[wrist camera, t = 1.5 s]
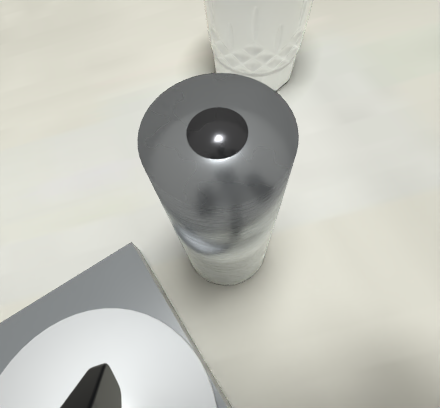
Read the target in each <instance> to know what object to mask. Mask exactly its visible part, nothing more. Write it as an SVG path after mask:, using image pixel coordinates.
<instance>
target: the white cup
mask: <svg viewBox="0 0 440 408" xmlns="http://www.w3.org/2000/svg"><path fill="white" fill-rule="evenodd" d="M312 3H313V0H204V5H205V12H206V20H207V28H208V32H209V38H210V45H211V47H212V50H213V55H214V63H215V69H216V73H231V74H238V75H243V76H246V77H250V78H253V79H255V80H258V81H260V82H262V83H264V84H265V85H267V86H269V87H270V88H272V89H273V90H274V91H276V90H278V89H279V88H280V87H281V86H282V85H284V84H285V83H286V82H287V81H288V80H289V78H290V75H291V72H292V69H293V66H294V63H295V59H296V55H297V52H298V50H299V48H300V46H301V42H302V38H303V35H304V32H305V29H306V26H307V22H308V18H309V15H310V11H311V7H312Z"/></svg>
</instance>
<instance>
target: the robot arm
mask: <svg viewBox="0 0 440 408" xmlns="http://www.w3.org/2000/svg"><path fill="white" fill-rule="evenodd" d="M60 408H122V399H121V390H120V386H119V384H118V382H117V380H116V378H115V376H114V374H113V372H112V370H111V368H110V366H109V365H108V364H107V363H103V364H100V365H97V366H94V367H91V368H90V369H88V371H87V372H86V373H85V375H84V376H83V377H82V379H81V380H80V381H79V383H78V384H77V385H76V387H75V388H74V389H73V391H72V392H71V393H70V395H69V396H68V398H67V399H66V400H65V402H64V403H63V404H62V406H61V407H60Z"/></svg>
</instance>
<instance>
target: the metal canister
mask: <svg viewBox="0 0 440 408" xmlns="http://www.w3.org/2000/svg"><path fill="white" fill-rule="evenodd" d="M298 137H299V135H298V126H297V123H296V119H295V117H294V115H293V112H292V110H291V109H290V107H289V106H288V104H287V103H286V101H285V100H284V99H283V98H282V97H281V96H280V95H279V94H278V93H277V92H276V91H274V90H273V89H272V88H270V87H269V86H267V85H265V84H264V83H262V82H260V81H258V80H255V79H253V78H250V77H246V76H243V75H238V74H231V73H211V74H203V75H199V76H195V77H192V78H189V79H186V80H183V81H181V82H179V83H177V84H175V85H173V86H172V87H170V88H168V89H167V90H166V91H165V92H163V93H162V94H161V95H160V96H159V97H158V98H157V99H156V100H155V101H154V102H153V103H152V104H151V105H150V107H149V108H148V110H147V111H146V113H145V115H144V117H143V119H142V121H141V124H140V128H139V132H138V151H139V156H140V159H141V162H142V165H143V167H144V169H145V171H146V173H147V175H148V177H149V179H150V181H151V183H152V185H153V187H154V189H155V191H156V193H157V195H158V197H159V199H160V201H161V203H162V205H163V207H164V209H165V211H166V213H167V215H168V217H169V219H170V221H171V223H172V225H173V227H174V229H175V231H176V233H177V235H178V237H179V239H180V241H181V243H182V245H183V247H184V249H185V251H186V253H187V255H188V257H189V259H190V261H191V263H192V265H193V267H194V269H195V270H196V271H197V272H198V273H199V274H200V275H201V276H202V277H203V278H205V279H206V280H208V281H210V282H212V283H215V284H219V285H234V284H238V283H241V282H243V281H245V280H247V279H249V278H250V277H251V276H253V275H254V274H255V273H256V272H257V271H258V269H259V268H260V266H261V264H262V262H263V260H264V257H265V254H266V250H267V247H268V244H269V241H270V237H271V234H272V231H273V228H274V224H275V221H276V218H277V215H278V211H279V208H280V205H281V202H282V198H283V195H284V192H285V189H286V185H287V182H288V179H289V176H290V172H291V169H292V166H293V163H294V159H295V156H296V153H297V148H298Z"/></svg>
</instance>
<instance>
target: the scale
mask: <svg viewBox="0 0 440 408" xmlns="http://www.w3.org/2000/svg"><path fill="white" fill-rule="evenodd" d="M103 363H107V364H108V365H109V366H110V368H111V370H112V372H113V374H114V376H115V378H116V380H117V382H118V384H119V386H120V390H121V399H122V408H232V407H231V406H230V404H229V402H228V400H227V399H226V397H225V395H224V394H223V392H222V390H221V388H220V387H219V385H218V383H217V382H216V380H215V378H214V376H213V375H212V373H211V371H210V370H209V368H208V366H207V364H206V363H205V361H204V359H203V358H202V356H201V354H200V353H199V351H198V349H197V347H196V346H195V344H194V342H193V341H192V339H191V337H190V335H189V334H188V332H187V330H186V329H185V327H184V325H183V323H182V322H181V320H180V318H179V317H178V315H177V313H176V311H175V310H174V308H173V306H172V305H171V303H170V301H169V299H168V298H167V296H166V294H165V293H164V291H163V289H162V288H161V286H160V284H159V282H158V281H157V279H156V277H155V276H154V274H153V272H152V270H151V269H150V267H149V265H148V264H147V262H146V260H145V258H144V257H143V255H142V253H141V252H140V250H139V249H138V248H137V247H136V246H135V245H134V244H133V243H132V242H131V243H129V244H128V245H126V246H124V247H123V248H121V249H119V250H118V251H116V252H115V253H113V254H111V255H110V256H108V257H106V258H105V259H103V260H102V261H100V262H98V263H97V264H95V265H94V266H92V267H90V268H89V269H87V270H85V271H84V272H82V273H81V274H79V275H77V276H76V277H74V278H72V279H71V280H69V281H68V282H66V283H64V284H63V285H61V286H59V287H58V288H56V289H55V290H53V291H51V292H50V293H48V294H47V295H45V296H43V297H42V298H40V299H38V300H37V301H35V302H34V303H32V304H30V305H29V306H27V307H25V308H24V309H22V310H21V311H19V312H17V313H16V314H14V315H12V316H11V317H9V318H8V319H6V320H4V321H3V322H1V323H0V408H60V407H61V406H62V404H63V403H64V402H65V400H66V399H67V398H68V396H69V395H70V393H71V392H72V391H73V389H74V388H75V387H76V385H77V384H78V383H79V381H80V380H81V379H82V377H83V376H84V375H85V373H86V372H87V371H88V369H90V368H91V367H94V366H97V365H100V364H103Z"/></svg>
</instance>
